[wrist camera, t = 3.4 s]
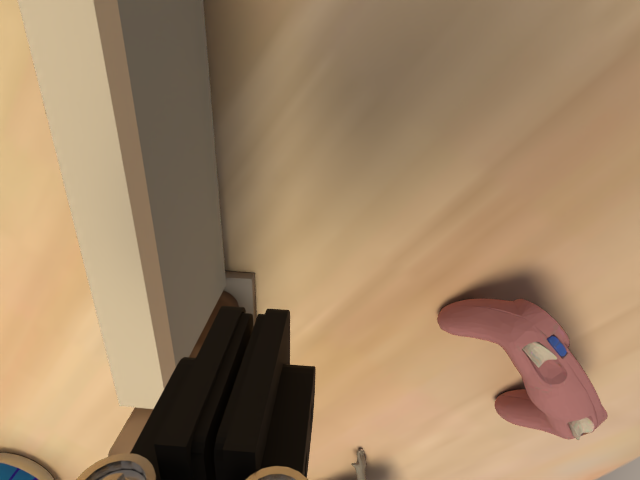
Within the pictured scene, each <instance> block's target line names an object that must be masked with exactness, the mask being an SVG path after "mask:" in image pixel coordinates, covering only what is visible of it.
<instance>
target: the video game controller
mask: <svg viewBox="0 0 640 480" xmlns="http://www.w3.org/2000/svg"><path fill="white" fill-rule="evenodd" d="M437 320H438V324H439V326H440V328H441V329H442V330H444V331H446V332H448V333H450V334H453V335H458V336H464V337H472V338H478V339H482V340H487V341H490V342H493V343H496V344H498V345H500V346H501V347H503V349H504V350H505V351H506V352H507V354H508V356H509V357H510V359H511V361H512V362H513V364H514V365H515V367H516V368H517V370H518V371H519V373H520V374H521V376H522V379H523V383H524V386H525V388H526V389H518V390H513V391H507V392H505V393H503V394H501V395H500V396H498V397H497V399H496V401H495V409H496V411H497V413H498V414H499V415H500V416H501V417H502V418H503V419H505V420H507V421H508V422H511V423H513V424H515V425H519V426H523V427H528V428H533V429H538V430H542V431H545V432H548V433H551V434H554V435H557V436H559V437H562V438H565V439H573V438H576V439H577V440H579V439H580V436H582V435H585V434H588V433H591V432H593V431H594V430H595V429H596V428H597V427H598V426H599V425H600V424H601V423H602V422H603V421H605V420H606V419H607V412H606V410H605V409H604V407H603V406H602V405H601V402H600V399H599V397H598V395H597V393H596V391H595V389H594V387H593V385H592V383H591V381H590V380H589V378H588V376H587V375H586V373H585V371H584V370H583V368H582V367H581V365H580V364H579V363H578V361H577V360H576V358H575V357H574V356H573V354H572V353H571V352H570V350H569V349H568V347H569V338H568V336H567V334H566V333H565V331H564V329H563V328H562V327H561V326H560V325H559V324H558V322H557V321H556V320H555V319H554V318H552V317H551V316H550V315H549V314H548V313H547V312H546V311H544V310H543V309H542V308H540V307H539V306H537V305H535V304H534V303H532V302H529V301H527V300H524V299H516V300H514V301H507V300H498V299H467V300H462V301H458V302H454V303H451V304H449V305H447V306H445V307H444V308H442V309H441V311H440V313H439V314H438V318H437Z"/></svg>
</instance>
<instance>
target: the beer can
mask: <svg viewBox="0 0 640 480" xmlns="http://www.w3.org/2000/svg"><path fill="white" fill-rule="evenodd" d="M0 480H54V478H53V477H52V475H51V474H50V473H49V472H48V471H47V470H46V469H45V468H43V467H42V466H41V465H39V464H38V463H36V462H34V461H32V460H30V459H28V458H25V457H23V456H20V455H16V454H11V453H0Z"/></svg>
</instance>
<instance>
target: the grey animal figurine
mask: <svg viewBox="0 0 640 480" xmlns="http://www.w3.org/2000/svg"><path fill="white" fill-rule="evenodd" d="M357 455H358V460H357V462H356V463H352V465H353V466H354V467H355V469H356V473H357V480H366V476H365V468H366V465H367V464H366V459H365V456H364V451H363V449H359V451H357Z"/></svg>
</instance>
